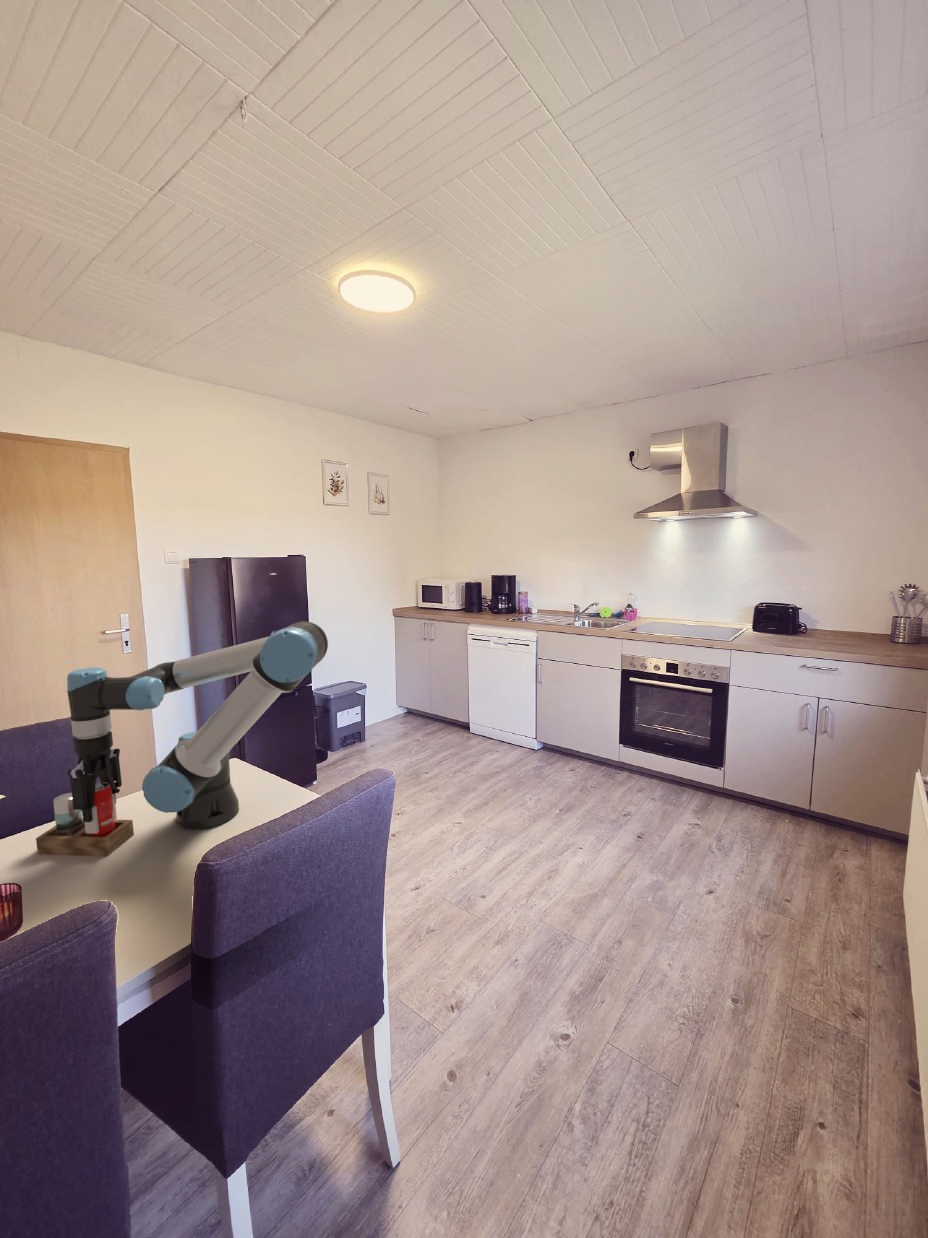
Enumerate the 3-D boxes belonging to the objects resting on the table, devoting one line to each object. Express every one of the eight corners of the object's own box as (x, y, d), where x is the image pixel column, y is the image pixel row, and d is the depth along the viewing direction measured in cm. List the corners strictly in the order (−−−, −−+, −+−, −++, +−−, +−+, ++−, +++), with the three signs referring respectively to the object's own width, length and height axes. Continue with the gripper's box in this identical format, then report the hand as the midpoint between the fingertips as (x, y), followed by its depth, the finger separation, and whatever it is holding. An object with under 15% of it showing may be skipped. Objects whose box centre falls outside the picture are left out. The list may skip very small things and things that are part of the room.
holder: (133, 835, 128) (132, 820, 128) (107, 856, 120) (106, 840, 119) (68, 833, 129) (67, 818, 129) (37, 854, 120) (35, 838, 120)
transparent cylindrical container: (89, 838, 127) (85, 792, 125) (73, 850, 122) (68, 802, 120) (69, 837, 127) (64, 792, 125) (52, 849, 122) (47, 802, 120)
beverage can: (91, 842, 120) (86, 793, 119) (87, 833, 124) (82, 786, 122) (117, 833, 124) (112, 786, 122) (112, 825, 127) (108, 779, 126)
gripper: (105, 720, 129) (113, 806, 133) (44, 748, 111) (55, 847, 115) (134, 721, 129) (141, 807, 132) (77, 749, 111) (87, 848, 114)
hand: (101, 825), depth 124 cm, fingers closed on beverage can, 5 cm apart
